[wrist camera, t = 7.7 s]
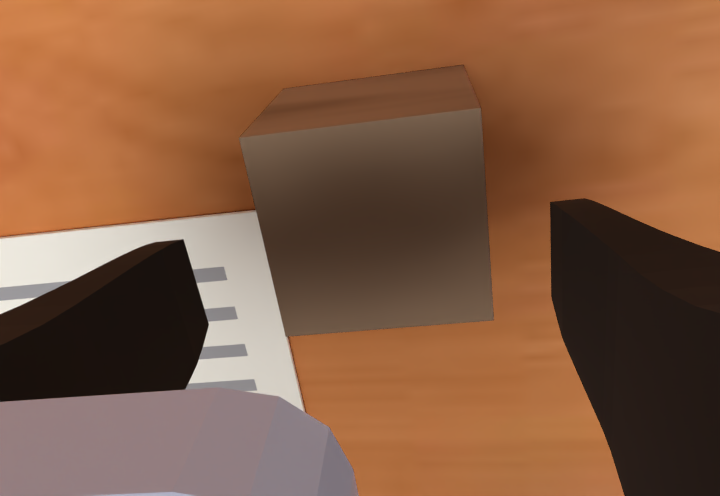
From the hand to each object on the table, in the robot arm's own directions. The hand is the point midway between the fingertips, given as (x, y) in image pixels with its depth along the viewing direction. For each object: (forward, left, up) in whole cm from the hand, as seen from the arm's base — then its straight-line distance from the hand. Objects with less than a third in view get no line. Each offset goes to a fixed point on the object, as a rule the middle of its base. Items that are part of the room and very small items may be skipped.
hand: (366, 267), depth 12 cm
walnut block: (0, 0, -7) cm, 7 cm away
